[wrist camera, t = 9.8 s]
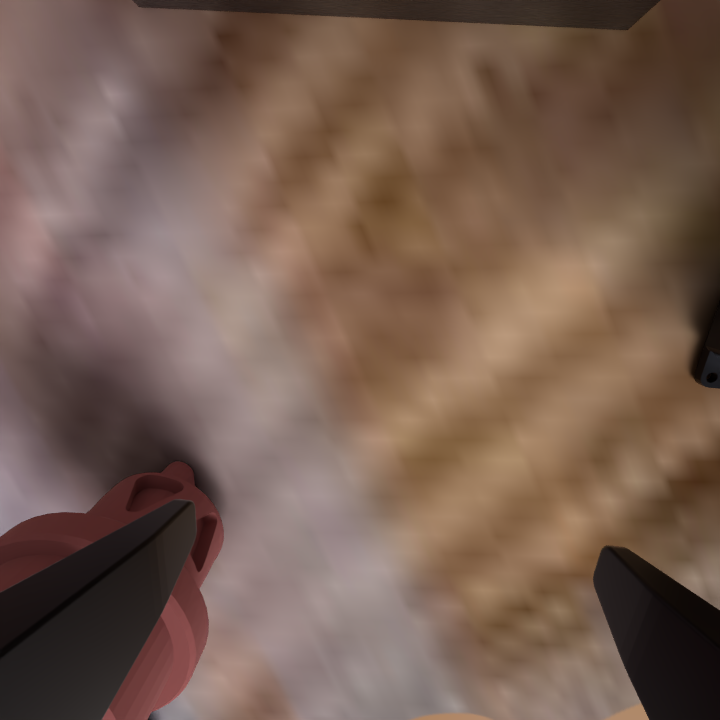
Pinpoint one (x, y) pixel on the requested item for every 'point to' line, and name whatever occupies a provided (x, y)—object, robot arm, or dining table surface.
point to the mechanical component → (186, 604)
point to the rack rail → (444, 10)
